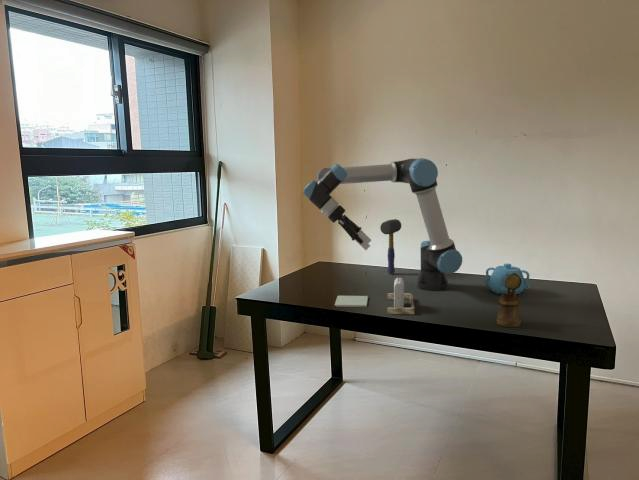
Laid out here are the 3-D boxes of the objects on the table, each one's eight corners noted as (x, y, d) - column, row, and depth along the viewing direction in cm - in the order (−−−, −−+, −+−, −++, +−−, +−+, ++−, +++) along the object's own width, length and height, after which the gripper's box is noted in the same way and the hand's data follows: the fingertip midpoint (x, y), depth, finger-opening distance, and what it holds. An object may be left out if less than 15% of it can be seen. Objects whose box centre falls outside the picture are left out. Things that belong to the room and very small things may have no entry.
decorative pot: (498, 298, 221) (499, 269, 218) (481, 288, 237) (482, 261, 234) (532, 296, 223) (533, 267, 221) (513, 286, 239) (515, 259, 236)
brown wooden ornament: (525, 318, 194) (527, 273, 191) (518, 329, 183) (520, 282, 180) (501, 315, 199) (503, 271, 196) (493, 325, 188) (495, 279, 184)
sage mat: (367, 297, 228) (367, 295, 228) (366, 307, 214) (366, 305, 214) (337, 297, 230) (337, 295, 230) (334, 306, 216) (334, 304, 216)
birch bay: (411, 298, 224) (411, 293, 224) (414, 314, 203) (414, 308, 202) (387, 298, 226) (387, 293, 225) (387, 314, 204) (387, 308, 204)
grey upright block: (403, 309, 209) (403, 281, 207) (393, 309, 210) (393, 281, 208) (404, 302, 219) (404, 275, 217) (394, 302, 220) (394, 275, 218)
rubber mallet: (391, 277, 263) (391, 221, 258) (379, 275, 268) (379, 220, 262) (402, 272, 273) (402, 218, 268) (390, 270, 277) (390, 218, 272)
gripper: (330, 213, 224) (363, 245, 224) (323, 220, 199) (361, 257, 200) (342, 201, 222) (375, 234, 223) (336, 207, 198) (374, 244, 198)
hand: (368, 245), depth 211 cm, fingers open, 13 cm apart
